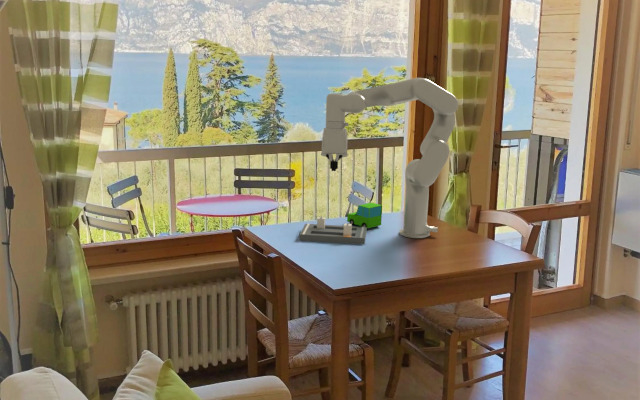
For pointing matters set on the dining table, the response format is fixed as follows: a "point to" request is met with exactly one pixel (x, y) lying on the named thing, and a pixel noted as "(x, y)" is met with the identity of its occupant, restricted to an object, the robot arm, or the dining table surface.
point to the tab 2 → (347, 229)
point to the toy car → (366, 215)
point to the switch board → (333, 234)
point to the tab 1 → (321, 222)
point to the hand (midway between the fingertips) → (333, 170)
